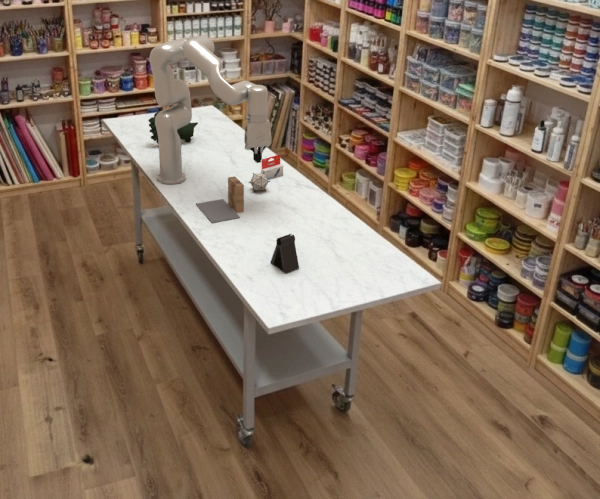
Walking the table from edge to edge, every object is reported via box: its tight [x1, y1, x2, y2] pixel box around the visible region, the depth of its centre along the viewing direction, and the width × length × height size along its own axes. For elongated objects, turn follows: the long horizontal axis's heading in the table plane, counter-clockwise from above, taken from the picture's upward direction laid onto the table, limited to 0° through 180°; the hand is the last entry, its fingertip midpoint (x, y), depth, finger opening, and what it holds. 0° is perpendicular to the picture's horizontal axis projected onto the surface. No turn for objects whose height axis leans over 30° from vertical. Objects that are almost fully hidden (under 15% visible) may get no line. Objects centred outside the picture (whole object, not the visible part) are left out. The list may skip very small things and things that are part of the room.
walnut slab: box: [227, 175, 245, 214], centre depth 285 cm, size 9×3×12 cm, turn 28°
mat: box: [195, 198, 241, 224], centre depth 284 cm, size 18×12×1 cm, turn 28°
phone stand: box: [270, 233, 300, 274], centre depth 247 cm, size 9×6×12 cm, turn 39°
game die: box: [248, 172, 271, 193], centre depth 302 cm, size 9×8×10 cm
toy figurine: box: [147, 110, 199, 145], centre depth 341 cm, size 9×19×25 cm
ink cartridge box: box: [261, 154, 284, 181], centre depth 313 cm, size 2×11×10 cm, turn 131°
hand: (257, 161), depth 282 cm, fingers closed
